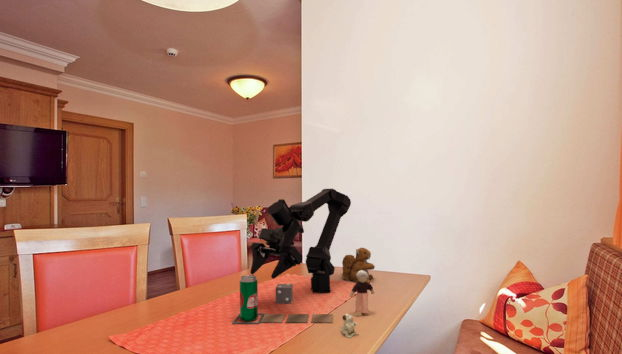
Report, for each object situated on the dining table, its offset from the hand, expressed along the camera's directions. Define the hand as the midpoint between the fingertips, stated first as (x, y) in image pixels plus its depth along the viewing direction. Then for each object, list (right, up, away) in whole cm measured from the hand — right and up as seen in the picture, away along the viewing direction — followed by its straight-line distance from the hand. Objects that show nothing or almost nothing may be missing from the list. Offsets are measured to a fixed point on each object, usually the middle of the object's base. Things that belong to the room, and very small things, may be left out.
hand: (261, 275), depth 100 cm
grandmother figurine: (+30, -11, -2) cm, 32 cm away
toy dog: (+24, -10, -16) cm, 31 cm away
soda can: (-3, -11, -4) cm, 13 cm away
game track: (+7, -11, -5) cm, 14 cm away
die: (+6, -12, +11) cm, 17 cm away
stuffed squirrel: (+34, -13, +36) cm, 51 cm away
